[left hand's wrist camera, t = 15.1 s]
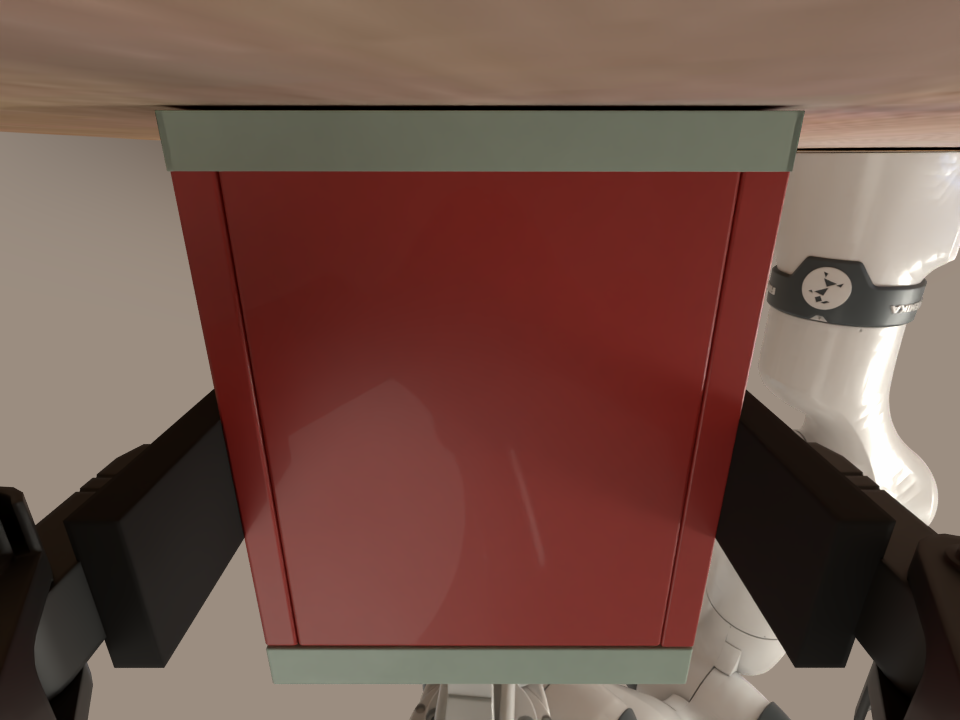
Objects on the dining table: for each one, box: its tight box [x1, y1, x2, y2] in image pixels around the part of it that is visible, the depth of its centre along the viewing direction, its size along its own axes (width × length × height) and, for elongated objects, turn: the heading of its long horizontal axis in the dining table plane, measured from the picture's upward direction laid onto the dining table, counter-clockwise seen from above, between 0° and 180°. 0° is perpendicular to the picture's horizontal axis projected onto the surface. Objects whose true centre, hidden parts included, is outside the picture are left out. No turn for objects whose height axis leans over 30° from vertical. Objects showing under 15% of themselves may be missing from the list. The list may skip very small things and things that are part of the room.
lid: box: [266, 641, 693, 684], centre depth 20 cm, size 14×10×9 cm
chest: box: [155, 110, 805, 647], centre depth 16 cm, size 13×10×11 cm
